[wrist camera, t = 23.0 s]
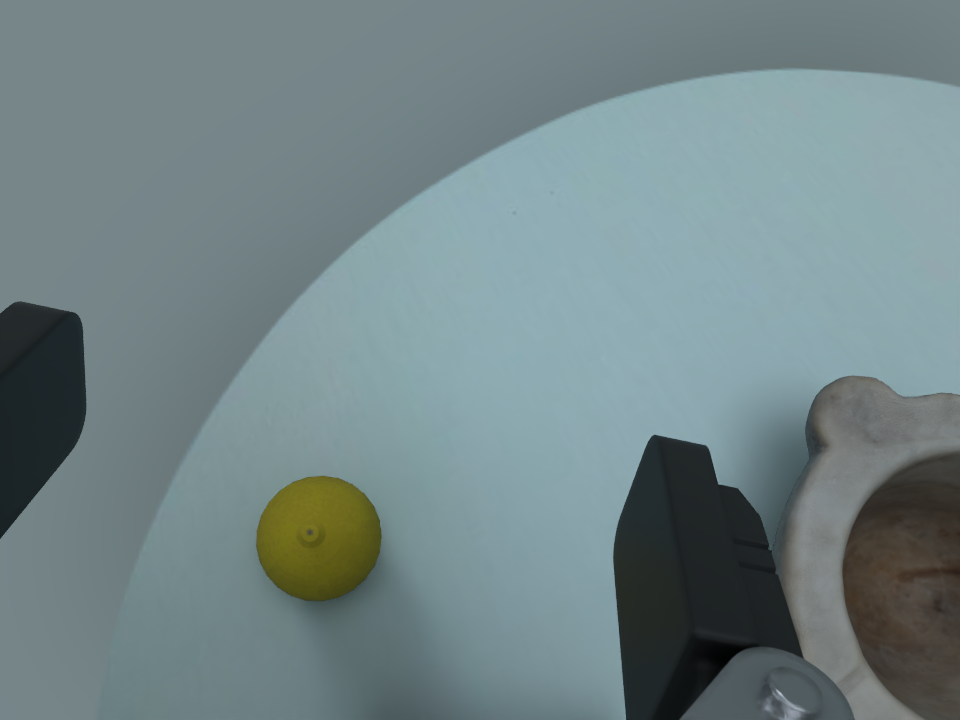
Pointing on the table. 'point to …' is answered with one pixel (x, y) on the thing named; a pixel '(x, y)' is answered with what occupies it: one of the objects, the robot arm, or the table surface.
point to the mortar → (878, 549)
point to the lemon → (318, 538)
